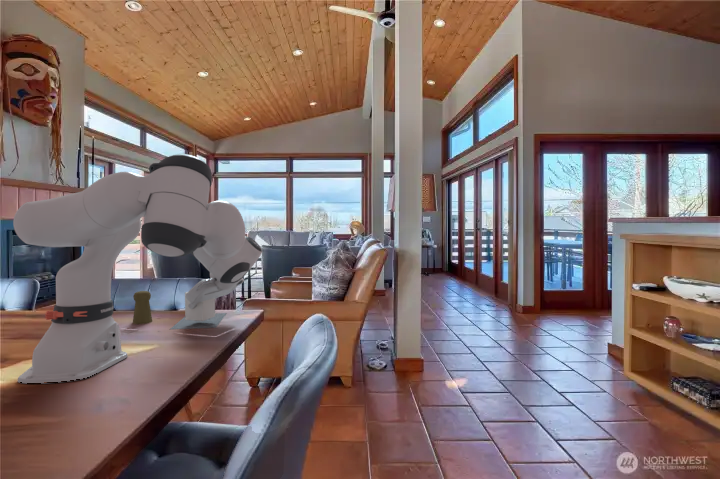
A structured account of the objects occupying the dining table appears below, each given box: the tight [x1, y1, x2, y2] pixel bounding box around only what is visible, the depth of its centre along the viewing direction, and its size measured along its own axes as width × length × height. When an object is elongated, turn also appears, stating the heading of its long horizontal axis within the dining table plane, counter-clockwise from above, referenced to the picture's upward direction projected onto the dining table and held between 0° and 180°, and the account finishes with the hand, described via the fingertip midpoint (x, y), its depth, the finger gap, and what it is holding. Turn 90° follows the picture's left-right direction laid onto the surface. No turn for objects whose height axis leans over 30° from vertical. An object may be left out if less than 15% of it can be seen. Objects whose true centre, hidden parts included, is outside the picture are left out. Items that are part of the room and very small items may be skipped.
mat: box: [169, 312, 228, 330], centre depth 138 cm, size 22×14×1 cm, turn 10°
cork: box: [132, 290, 153, 325], centre depth 135 cm, size 6×6×11 cm
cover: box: [184, 291, 216, 321], centre depth 133 cm, size 7×7×9 cm
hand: (199, 305), depth 133 cm, fingers closed on cover, 7 cm apart
